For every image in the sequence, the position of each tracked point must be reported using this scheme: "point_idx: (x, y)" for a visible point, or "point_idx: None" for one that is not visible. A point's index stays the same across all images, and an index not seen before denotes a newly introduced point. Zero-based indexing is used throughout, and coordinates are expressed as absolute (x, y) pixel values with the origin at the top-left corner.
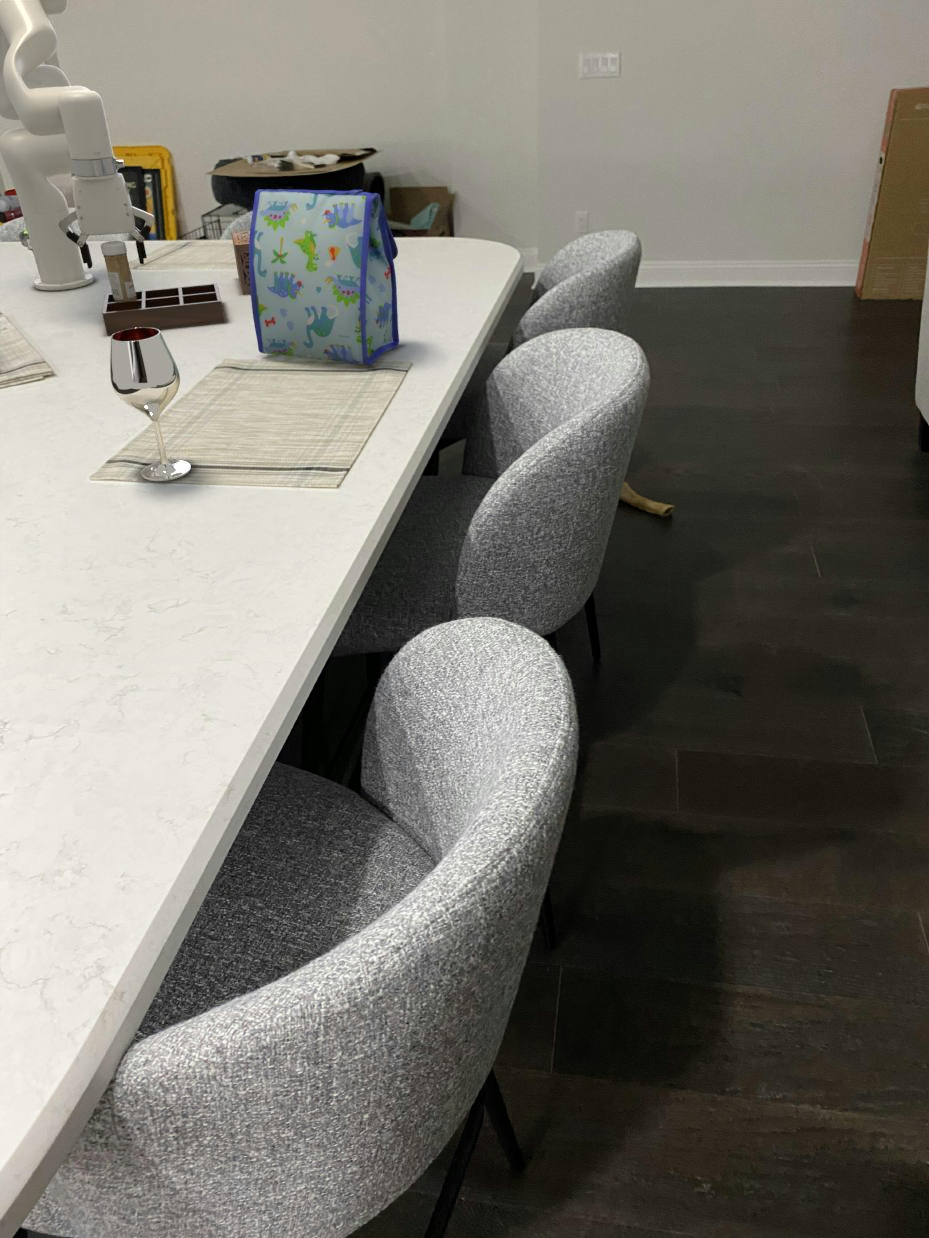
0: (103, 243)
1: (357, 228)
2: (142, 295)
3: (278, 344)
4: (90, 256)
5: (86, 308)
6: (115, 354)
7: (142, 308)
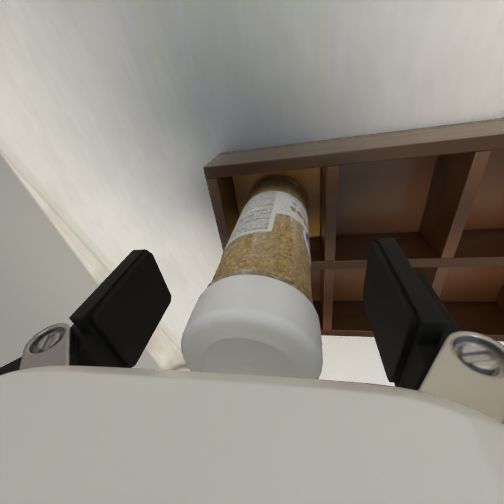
0: (194, 359)
1: None
2: (327, 222)
3: None
4: (137, 285)
5: (117, 31)
6: None
7: (325, 331)
